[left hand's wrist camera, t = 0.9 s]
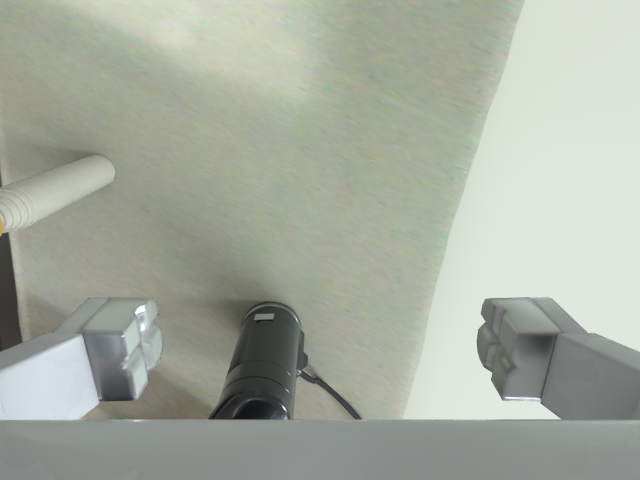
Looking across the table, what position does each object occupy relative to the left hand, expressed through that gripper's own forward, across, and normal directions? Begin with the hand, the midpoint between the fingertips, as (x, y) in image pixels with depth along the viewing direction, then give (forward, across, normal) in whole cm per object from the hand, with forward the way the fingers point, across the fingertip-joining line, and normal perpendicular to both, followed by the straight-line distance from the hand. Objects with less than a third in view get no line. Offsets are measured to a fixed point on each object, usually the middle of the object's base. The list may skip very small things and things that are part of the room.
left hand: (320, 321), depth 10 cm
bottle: (+48, +31, +7) cm, 57 cm away
